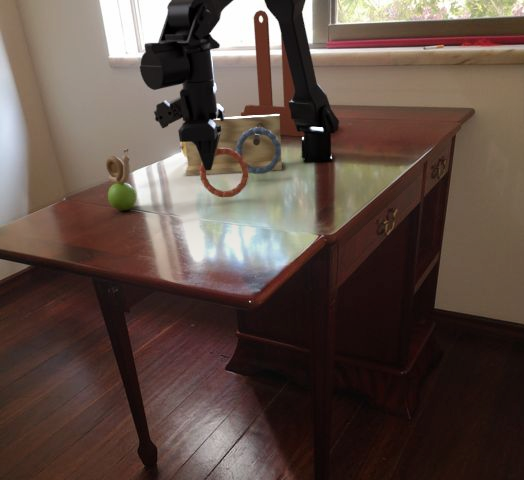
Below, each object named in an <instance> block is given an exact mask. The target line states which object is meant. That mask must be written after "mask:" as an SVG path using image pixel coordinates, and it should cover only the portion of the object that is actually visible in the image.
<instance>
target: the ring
mask: <svg viewBox="0 0 524 480" xmlns="http://www.w3.org/2000/svg"><path fill="white" fill-rule="evenodd" d="M179 148H180V151H181V154H182V155H183V157H184V158H185V159H187V153H186V146H185V142H180V141H179Z"/></svg>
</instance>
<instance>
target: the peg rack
mask: <svg viewBox="0 0 524 480" xmlns="http://www.w3.org/2000/svg"><path fill="white" fill-rule="evenodd" d="M184 122H185V121H183V120H182V121H181V123H182V125H183V124H184ZM213 122H215V124H216V126H222V130H221V134H220V138H219V142H218V146H217V148H228V149H231V150H234V151H236V146H237V143H238V140H239V138H240V137H241V136H242V134H243V133H244V132H246V131H248V130H250V129H251V128H264V129H267V130H270V131H271V132H272V133H273V134H274V135H275V136H276V137H277V139H278V141H279V143H280V148H281V149H282V139H281V138H282V137H281V136H282V135H280V115H279V114H273V115H257V116H242V117H241V116H227V117H226V116H225V119H224V121H221V120H220V119H214V120H213ZM182 125H181V126H182ZM185 146H186V153H187V158H186V160H187V167H186V169H185V175H186V176H200V166H201V163H202V160H201V157H200V155H199V152H198V150H197V147H196V145H195V144H194V143H193V142H185ZM274 155H275V146H274V144H273V142H272V140H271V139H270V138H268V137H267V136H265V135H263V134H253V135H251V136H249V137H248V138H247V139H246V140H245V141H244V143H243V146H242V156H243V158H244V160H245V162H247V163H248V164H249V165H250V166H252V167H255V168H263V167H265V166H267V165H269V164H270V163H271V162H272V160H273V158H274ZM282 166H283V159H282V154H281V155H280V158H279V161H278V163H277V164H276V166H275V167H274V168H273V169H272V170H270V171H269V172H271V171H272V172H273V171H282V170H283V169H282V168H283V167H282ZM238 173H242V168H241V166H240V164H239V162H238V161H237V160H235V159H234V158H233V157H231V156H228V155H218V156H216V157H215V158H214V162H213V166H212V168H211V170H208V171H206V175H221V174H238ZM248 173H250V172H249V171H248Z"/></svg>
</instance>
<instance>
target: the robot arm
mask: <svg viewBox="0 0 524 480" xmlns="http://www.w3.org/2000/svg"><path fill="white" fill-rule="evenodd" d="M233 1H234V0H170V2H169V3H168V4H167V14H166V17H165V21H164V23H163V27H162V29H161V33H160V36H159V39H158V42H146V43H144V53H143V54H142V56H141V59H140V66H139V71H140V76H141V78H142V80H143V83H144V84H145V85H146V86H147V87H148V88H149V89H150V90H152V91H157V90H160V89H161V90H162V89H165V88H170V87H174V86H178V85H182V88H181V89H180V90H179V96H178V97H176V98H174V99H173V100H171V101H167V100H163V101H162V102H159V103H157V104H156V105H155V107H156V109H155V110H154V111H153V114H154V120H155V121H156V122H158V123H159V125H160V127H161V129H165V128H168V127H169V125H171V124H173V123H175V122H177V121H179V120H181V119H182V121H185V122H184V124H183V125H181V126H180V128H179V129H178V130H177V131H178V132H177V133H178V138H179V139H178V140H179V143H180V142H193V143H194V144H195V145H196V147H197V150H198V152H199V155H200V157H201V160H202V163H203V165H204V168H205V170H206V171H208V170H211V168H212V166H213V162H214V158H215V157H214V155H215V151H216V149H217V146H218V142H219V138H220V134H221V130H222V126H216V124H215V122H213V120H214V119H220V120H221V121H224V119H225V118H226V115H225V108H224V107H223V106H222V105H221V104H220V103H218V102H217V95H216V94H217V93H216V91H217V90H218V88H217V83H216V82H215V75H214V66H213V56H212V50H217V49H219V48H220V47H221V44H220V42H218V41H217V40H216V39H214V38H213V36H212V35H211V34H212V33H211V32H212V31H213V30H214V29H215V28H216V27H217V25H218V24H219V22H220V21H221V15H222V12H224V10H225V9H226V7H228V6H229V5H230V4H231V3H232V2H233ZM306 1H307V0H264V4H265V6H266V9H267V10H268V11H269V12H270V14H271V15H272V16H273V17H274V18H275V19H276V21H277V22H278V27H279V30H280V36H281V35H282V39H283V43H284V48H285V52H286V56H287V60H288V64H289V68H290V72H291V77H292V81H293V85H294V90H295V92H294V95H293V98H292V101H290V102H289V104H288V106H289V108H290V111H291V119H294V122H295V126H296V129H297V132H304V137H303V136H301V138H300V140H301V141H300V143H301V146H300V147H301V158H302V159H303V162H304V163H313V162H314V163H316V162H317V163H318V162H332V160H333V157H332V135H333V134H336V132H338V130H339V125H340V120H339V119H338V117H337V115H336V114H335V113H334V111H333V110H332V109H331V104H330V101H329V99H328V96H327V94H326V92H325V91H324V89H322V88H321V86H320V85H319V84H318V82H317V77H316V73H315V68H314V67H315V66H314V63H313V59H312V54H311V49H310V44H309V39H308V34H307V30H306V25H305V24H306V23H305V20H304V16H303V11H304V8H305V4H306Z"/></svg>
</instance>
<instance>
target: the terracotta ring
mask: <svg viewBox="0 0 524 480" xmlns="http://www.w3.org/2000/svg"><path fill="white" fill-rule="evenodd" d="M218 155H228V156H231V157H233V158H234V159H235V160H237V161H238V162H239V164H240V166H241V168H242V172H241V179H240V182H239V183H238V184H237V186H236V187H234V188H233V189H230V190H220V189H218V188H216V187H214V186H213V185H212V184H211V183H210V181H209V179H208V176H207V174H206V170H205V168H204V165H203V163H201V166H200V175H199V177H200V181H201V183H202V185H203V186H204V188H205V189H206V191H208V192H209V193H211V194H212V195H214V196H216V197H219V198H233V197H234V196H237V195H239V194H240V193H241V192H242V191H243V190H244V189H245V188H246V186H247V183H248V180H249V177H250V176H249V172H248V166H247V164H246V162H245V160H244V158H243V157H242V156H241V155H240V154H238V153H237V152H236V151H234V150H231V149H228V148H217V149H216V151H215V155H214V157H216V156H218Z"/></svg>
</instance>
